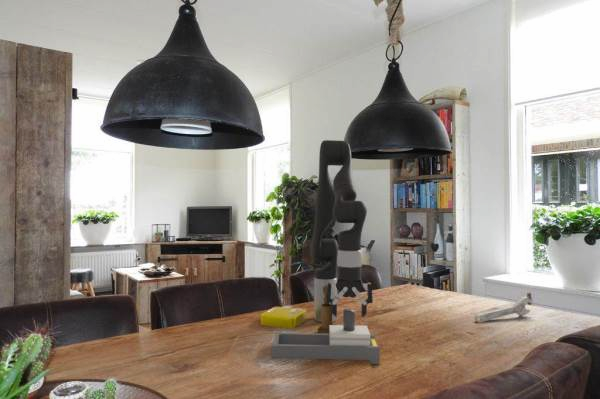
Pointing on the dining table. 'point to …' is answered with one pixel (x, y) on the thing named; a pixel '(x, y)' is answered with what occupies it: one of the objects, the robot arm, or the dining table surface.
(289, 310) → the element tile
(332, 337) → the white plate with knob
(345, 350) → the bay
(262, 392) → the dining table surface
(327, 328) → the brown wooden tall piece
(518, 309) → the wrench
